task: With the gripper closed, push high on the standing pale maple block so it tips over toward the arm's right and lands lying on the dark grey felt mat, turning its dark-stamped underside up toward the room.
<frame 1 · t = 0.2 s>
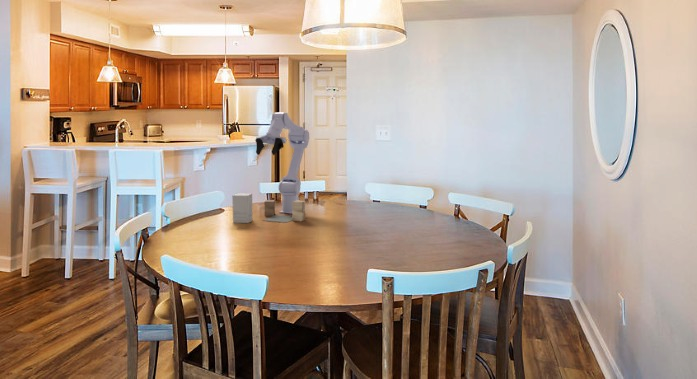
hand: (265, 153, 220), 31 cm above the table, tool tilted 45°, fingers open, 7 cm apart
walnut block: (269, 214, 243), on the table
felt mat: (281, 218, 234), on the table
maple block: (298, 220, 231), on the table
supplement box: (242, 221, 226), on the table
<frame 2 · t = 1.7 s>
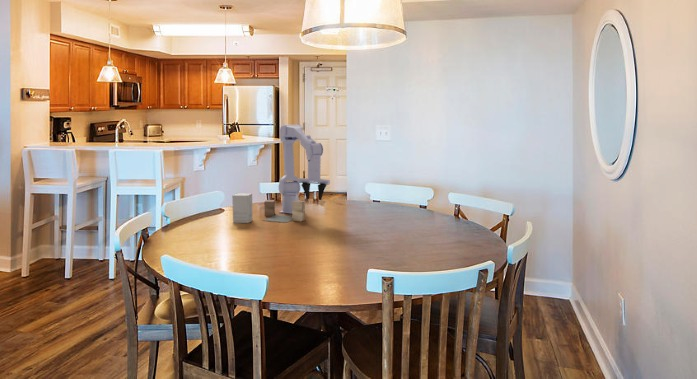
hand: (313, 199, 227), 10 cm above the table, tool pointing down, fingers open, 5 cm apart
nothing on the table moved.
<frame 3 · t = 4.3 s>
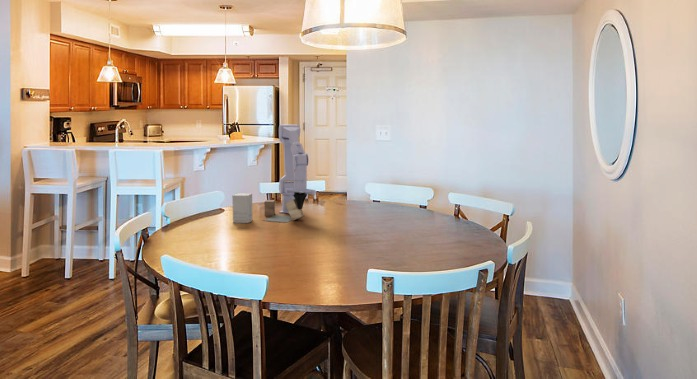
hand: (300, 208, 230), 5 cm above the table, tool pointing down, fingers closed
maple block: (298, 218, 231), point 1 cm above the table, tilted 25°, touching gripper
everything else where it was.
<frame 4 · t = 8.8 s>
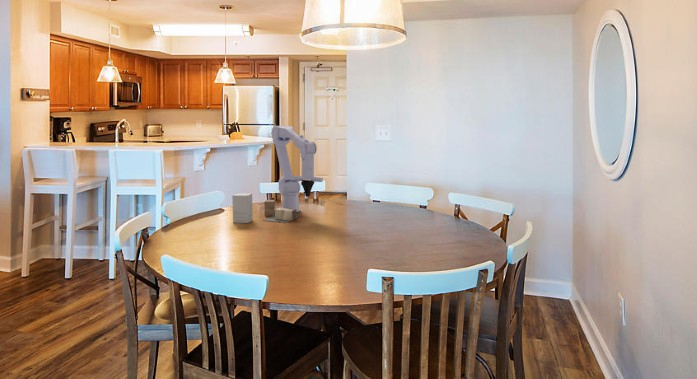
hand: (307, 196, 236), 10 cm above the table, tool pointing down, fingers closed
maple block: (294, 214, 231), point 2 cm above the table, tilted 90°, touching felt mat
everything else where it was.
at the end: maple block tilted 90°; maple block inside the target area (4.8 cm from its centre), point 2.4 cm above the table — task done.
